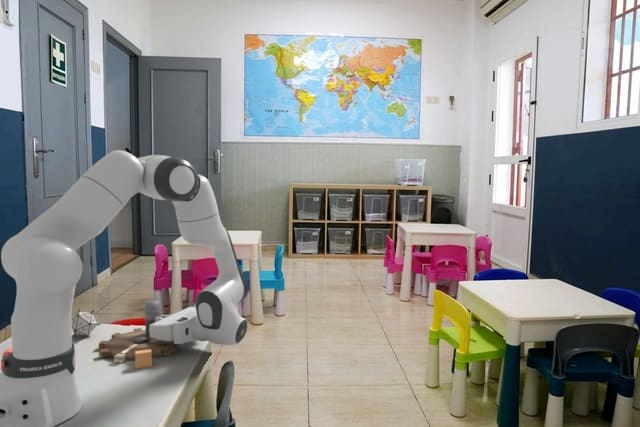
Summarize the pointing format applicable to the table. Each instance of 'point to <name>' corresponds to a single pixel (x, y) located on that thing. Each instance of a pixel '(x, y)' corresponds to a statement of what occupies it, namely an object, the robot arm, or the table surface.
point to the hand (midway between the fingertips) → (157, 318)
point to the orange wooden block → (143, 358)
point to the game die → (83, 323)
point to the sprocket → (137, 339)
